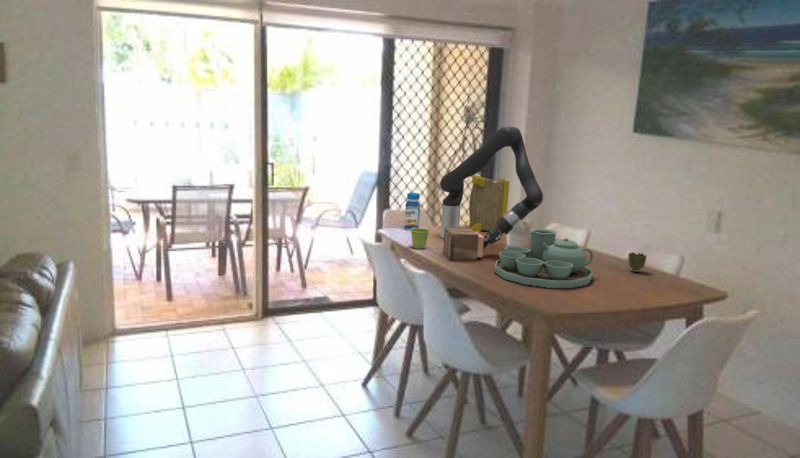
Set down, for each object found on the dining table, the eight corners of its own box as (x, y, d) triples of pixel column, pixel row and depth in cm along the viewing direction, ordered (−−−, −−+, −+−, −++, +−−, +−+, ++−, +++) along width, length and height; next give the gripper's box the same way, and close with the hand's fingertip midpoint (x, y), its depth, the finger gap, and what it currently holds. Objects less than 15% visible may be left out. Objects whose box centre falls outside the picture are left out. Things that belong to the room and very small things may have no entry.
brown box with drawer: (443, 252, 289) (444, 227, 287) (468, 252, 291) (469, 227, 288) (450, 260, 273) (452, 234, 271) (476, 261, 275) (478, 234, 273)
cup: (644, 271, 271) (646, 253, 269) (645, 275, 264) (647, 256, 263) (626, 268, 273) (628, 251, 272) (626, 272, 266) (628, 254, 265)
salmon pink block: (455, 250, 288) (457, 231, 286) (475, 250, 289) (477, 231, 287) (461, 256, 276) (463, 236, 274) (482, 257, 277) (483, 237, 275)
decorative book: (502, 228, 353) (505, 176, 347) (506, 232, 342) (510, 178, 336) (467, 227, 351) (470, 175, 345) (470, 231, 340) (474, 177, 335)
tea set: (476, 266, 266) (479, 229, 263) (553, 261, 282) (556, 226, 279) (529, 293, 231) (533, 250, 227) (613, 286, 246) (618, 245, 243)
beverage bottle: (422, 229, 340) (424, 193, 336) (412, 231, 334) (413, 194, 330) (411, 227, 345) (413, 191, 342) (400, 228, 339) (402, 192, 335)
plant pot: (429, 246, 301) (430, 228, 299) (428, 250, 291) (429, 232, 290) (410, 244, 301) (411, 227, 300) (408, 249, 292) (409, 231, 291)
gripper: (499, 213, 287) (471, 238, 288) (507, 218, 275) (479, 245, 275) (509, 224, 289) (481, 250, 290) (518, 230, 276) (489, 256, 277)
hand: (480, 247), depth 283 cm, fingers closed
